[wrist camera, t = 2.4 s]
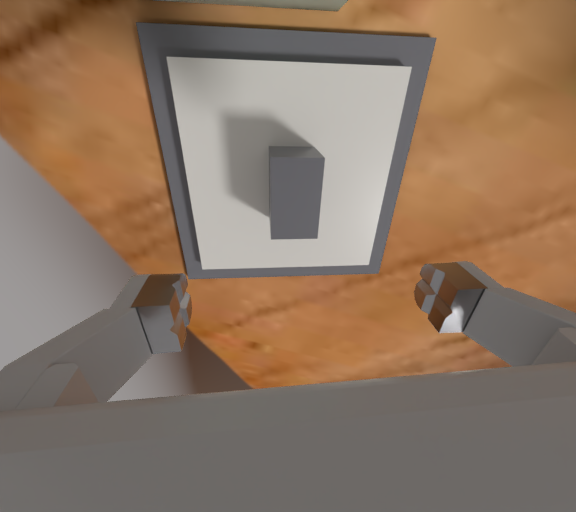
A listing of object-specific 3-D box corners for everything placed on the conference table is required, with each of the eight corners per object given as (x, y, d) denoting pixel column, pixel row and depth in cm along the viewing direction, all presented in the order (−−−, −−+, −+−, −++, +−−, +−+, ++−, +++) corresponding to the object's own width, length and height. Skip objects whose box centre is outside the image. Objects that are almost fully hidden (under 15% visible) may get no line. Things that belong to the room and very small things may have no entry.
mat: (432, 39, 16) (436, 37, 16) (376, 270, 25) (378, 273, 25) (138, 23, 15) (136, 22, 14) (189, 276, 24) (188, 279, 23)
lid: (405, 67, 16) (447, 60, 13) (365, 260, 24) (384, 290, 20) (170, 58, 15) (142, 47, 12) (204, 264, 23) (193, 297, 19)
